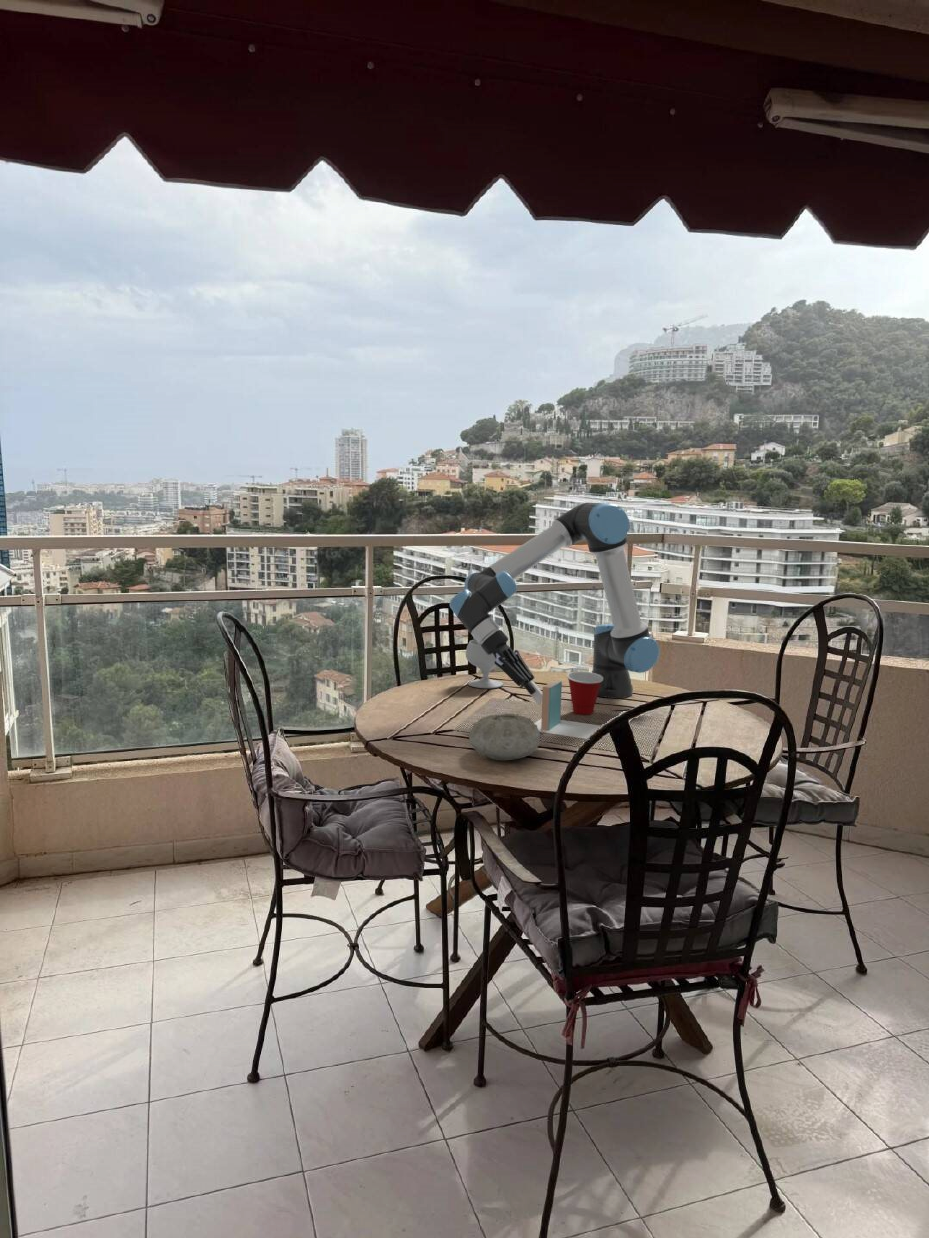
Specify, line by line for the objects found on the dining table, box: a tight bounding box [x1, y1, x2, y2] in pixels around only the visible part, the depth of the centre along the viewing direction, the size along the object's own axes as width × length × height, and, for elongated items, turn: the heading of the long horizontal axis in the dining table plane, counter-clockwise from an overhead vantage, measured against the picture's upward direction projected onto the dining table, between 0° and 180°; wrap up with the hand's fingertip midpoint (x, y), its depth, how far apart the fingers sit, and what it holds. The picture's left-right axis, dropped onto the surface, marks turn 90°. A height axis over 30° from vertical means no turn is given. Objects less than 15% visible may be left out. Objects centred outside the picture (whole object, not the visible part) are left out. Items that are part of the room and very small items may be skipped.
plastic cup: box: [566, 670, 603, 716], centre depth 243 cm, size 11×11×12 cm
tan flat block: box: [541, 679, 563, 730], centre depth 229 cm, size 2×9×12 cm, turn 154°
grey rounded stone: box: [468, 712, 541, 761], centre depth 205 cm, size 18×18×10 cm
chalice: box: [465, 639, 504, 689], centre depth 277 cm, size 14×14×15 cm
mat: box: [533, 717, 601, 740], centre depth 227 cm, size 20×14×1 cm
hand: (542, 701), depth 229 cm, fingers closed
